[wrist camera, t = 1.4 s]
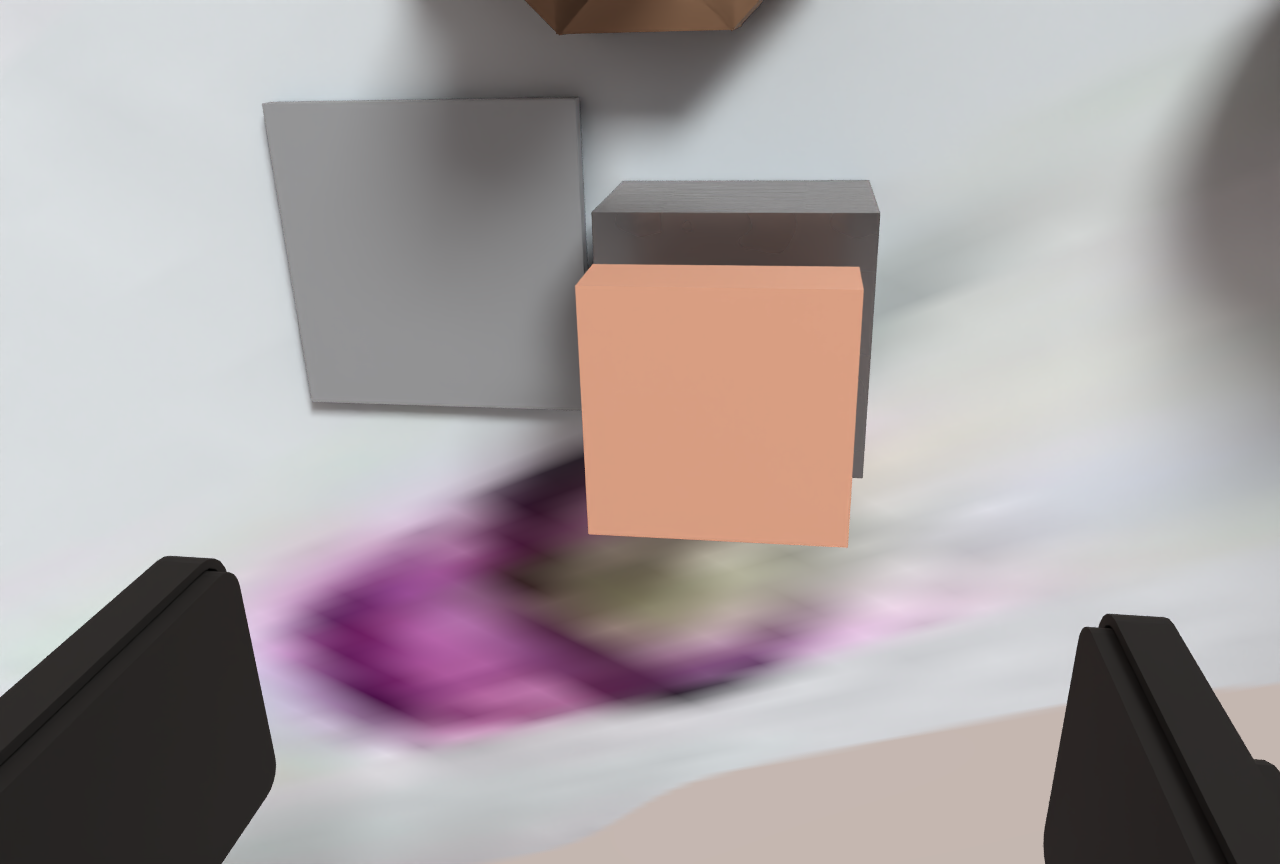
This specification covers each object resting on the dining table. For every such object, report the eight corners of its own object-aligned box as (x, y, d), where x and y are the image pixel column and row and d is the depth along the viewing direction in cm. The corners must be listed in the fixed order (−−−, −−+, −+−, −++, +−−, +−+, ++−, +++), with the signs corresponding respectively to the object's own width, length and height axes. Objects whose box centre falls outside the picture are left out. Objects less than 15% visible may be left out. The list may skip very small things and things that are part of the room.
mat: (579, 97, 24) (574, 99, 24) (594, 403, 28) (590, 410, 27) (271, 101, 26) (261, 103, 25) (319, 395, 29) (311, 401, 28)
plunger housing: (869, 180, 24) (880, 212, 20) (854, 412, 26) (862, 478, 23) (622, 180, 25) (591, 211, 21) (630, 405, 27) (603, 467, 24)
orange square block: (852, 227, 22) (863, 289, 17) (839, 439, 24) (847, 547, 19) (622, 226, 22) (575, 285, 18) (630, 432, 24) (588, 534, 20)
